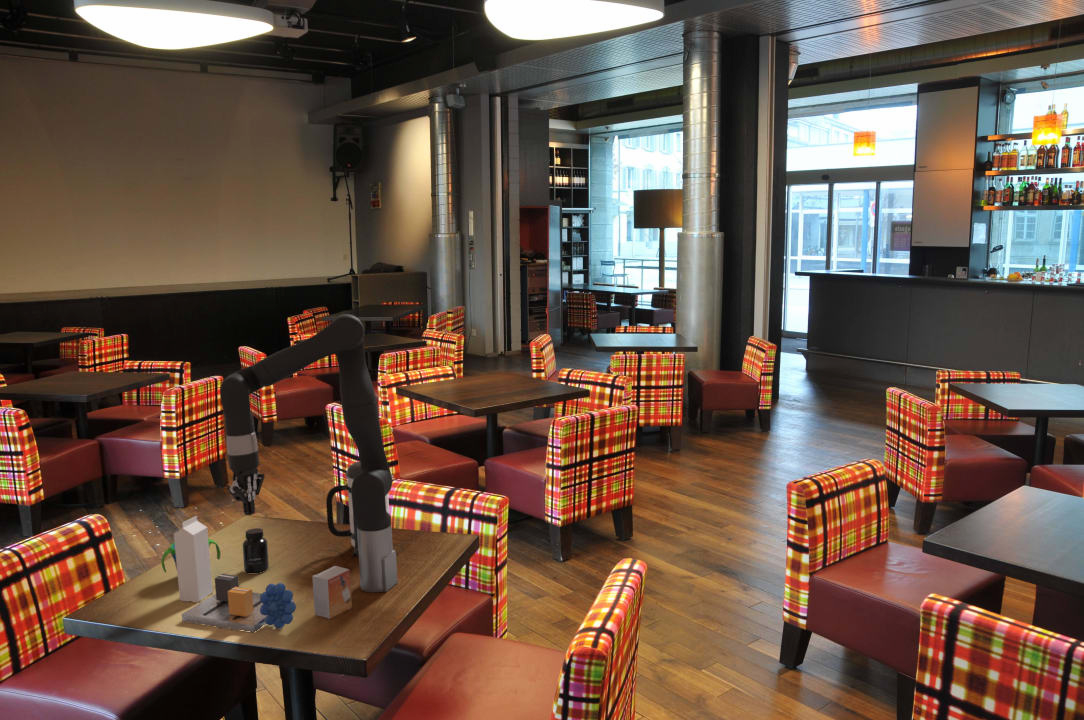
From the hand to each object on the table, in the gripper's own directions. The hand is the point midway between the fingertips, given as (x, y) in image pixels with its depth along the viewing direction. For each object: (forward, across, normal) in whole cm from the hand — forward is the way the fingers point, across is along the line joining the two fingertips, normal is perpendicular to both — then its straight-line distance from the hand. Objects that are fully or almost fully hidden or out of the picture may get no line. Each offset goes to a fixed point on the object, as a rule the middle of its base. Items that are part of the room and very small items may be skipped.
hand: (250, 514), depth 217 cm
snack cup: (+23, +8, +28) cm, 38 cm away
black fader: (+21, -6, +5) cm, 23 cm away
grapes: (+24, -12, -15) cm, 31 cm away
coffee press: (+25, +39, -11) cm, 47 cm away
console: (+24, -9, 0) cm, 25 cm away
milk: (+23, -3, +18) cm, 29 cm away
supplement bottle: (+24, +17, +13) cm, 32 cm away
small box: (+25, -1, -23) cm, 34 cm away
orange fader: (+21, -12, -4) cm, 25 cm away
